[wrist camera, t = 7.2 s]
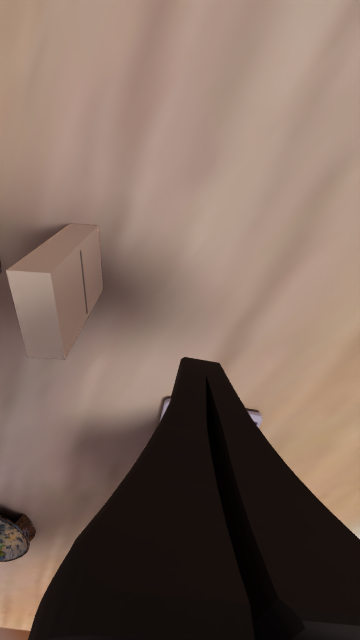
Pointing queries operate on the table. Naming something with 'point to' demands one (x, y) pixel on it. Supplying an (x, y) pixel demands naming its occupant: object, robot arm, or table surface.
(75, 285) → the ivory tile
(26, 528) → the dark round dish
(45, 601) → the robot arm
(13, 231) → the table surface
